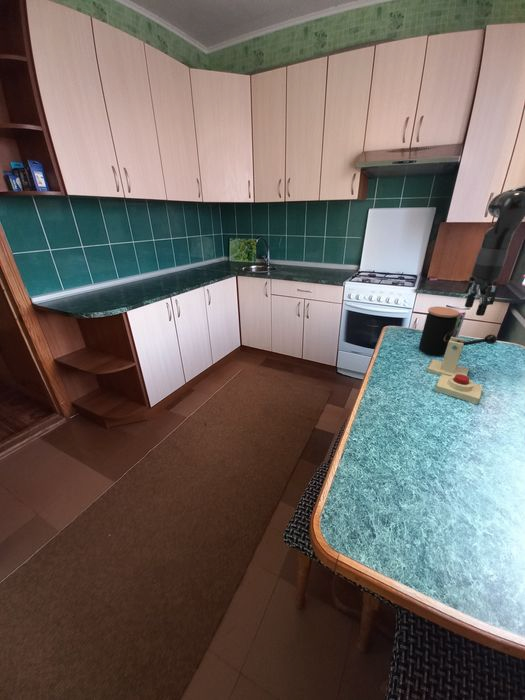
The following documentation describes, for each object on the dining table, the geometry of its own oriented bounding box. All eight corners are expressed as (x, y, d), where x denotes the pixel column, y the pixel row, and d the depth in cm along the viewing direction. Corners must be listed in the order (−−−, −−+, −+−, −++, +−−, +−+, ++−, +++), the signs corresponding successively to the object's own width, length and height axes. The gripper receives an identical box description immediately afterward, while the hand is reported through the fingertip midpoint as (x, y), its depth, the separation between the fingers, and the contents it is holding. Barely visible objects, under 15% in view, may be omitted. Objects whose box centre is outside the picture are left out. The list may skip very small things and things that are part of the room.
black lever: (498, 341, 96) (495, 332, 95) (497, 344, 94) (495, 335, 93) (453, 348, 105) (450, 340, 105) (451, 351, 103) (449, 343, 102)
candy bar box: (423, 343, 129) (432, 308, 122) (427, 340, 132) (436, 305, 125) (451, 351, 122) (463, 314, 115) (454, 347, 125) (466, 311, 118)
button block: (480, 391, 96) (484, 381, 94) (477, 404, 90) (481, 393, 88) (440, 379, 103) (443, 369, 101) (434, 390, 97) (437, 380, 95)
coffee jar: (443, 359, 116) (455, 317, 107) (414, 351, 122) (424, 311, 114) (449, 350, 123) (462, 310, 114) (422, 343, 129) (432, 304, 121)
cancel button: (468, 381, 95) (470, 376, 94) (467, 386, 92) (468, 382, 92) (454, 377, 97) (456, 372, 97) (452, 382, 95) (454, 378, 94)
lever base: (468, 371, 107) (479, 340, 102) (464, 382, 101) (476, 349, 95) (432, 362, 114) (440, 332, 108) (426, 371, 108) (435, 340, 102)
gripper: (515, 267, 85) (496, 319, 93) (491, 259, 98) (476, 305, 105) (487, 266, 87) (470, 317, 94) (466, 258, 99) (453, 304, 106)
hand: (473, 311), depth 100 cm, fingers open, 8 cm apart
